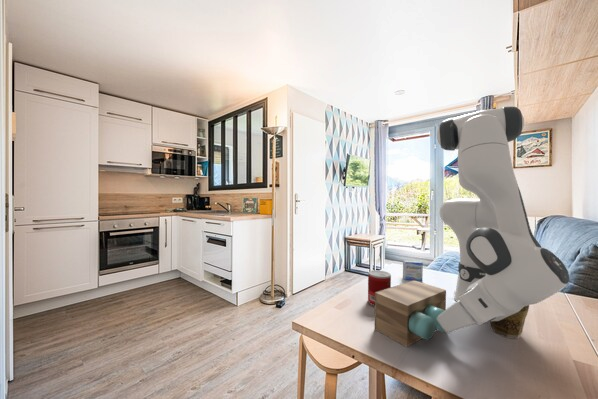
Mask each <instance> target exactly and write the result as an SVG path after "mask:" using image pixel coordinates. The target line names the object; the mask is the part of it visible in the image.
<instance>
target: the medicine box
mask: <svg viewBox="0 0 598 399" xmlns="http://www.w3.org/2000/svg"><path fill="white" fill-rule="evenodd" d="M423 264H424V263H423V262H422V261H421V260H412V259H411V260H406V259H403V260H402V278H403V279H404V280H405V281H413V280H415V281H418V282H422V281H423V274H424V273H423V271H424V270H423V269H424V268H423Z"/></svg>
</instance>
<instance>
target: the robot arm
mask: <svg viewBox="0 0 598 399" xmlns="http://www.w3.org/2000/svg"><path fill="white" fill-rule="evenodd" d="M438 126H439V127H438V129H437V132H436V140H437V143H438V145H439V146H440V148H442V149H443V150H444V151H455V150H458V151H457V170H458V173H457V174H458V183H459V185H460V186H461V187H462V189H463V190H465V191H468V192H471V193H473V194H475V195H476V197H477V198H453V199H449V200H448V199H447V200H445V201H444V202H443V203H442V204H441V206H440V207H439V216H440V219H441V220H442V223H444V224H445V225H447V226H448V227H449V228H450V229H451V230H452V231H453V233H454V234H455V236H456V238H457V240H458V243H459V244H458V245H459V262H458V266H457V268H458V269H457V271H458V275H457V280H456V286H455V287H456V288H455V290H454V293H453V294H454V297H453V299H454V300H455V302H454V303H452V304H451V305H450V306H448V308H446V310H445V311H444V312H442V313H441V314H440V315H439V316H438V317H437V321H438V323H439V324H440V326H441V327H442V328H443V330H444V331H443V332H444V333H452V332H456V331H458V330H461V329H464V328H468V327H470V326H473V325H475V324H478V325H479V326H481V325H484V324H485V323H486V324H487V323H488V322H489V323H490V321H500V320H502V319H504V318H506V317H508V316H510V315H512V314H515V313H517V312H519V311H520V310H521V309H522V308H523V307H524V306H527V305H529V306H530V305H537V304H539V303H541V302H543V301H544V300H546V299H548V298H550V297H552V296H554V295H555V294H557V293H559V292H561V290H563V289H564V288H566V287H567V285H568V284H569V282H570V274H569V270H568V269H567V267H566V265H565V264H564V263H563V261H562V260H561V259H560V258H559V257H558V256H556V254H554V253H553V251H551V250H549V249H547V248H546V247H545V248H544V247H543V246H541V244H540V243H539V242H538V240H537V239H536V237H535V236H534V235H533V232H532V230H531V226H530V223H529V219H528V216H527V215H528V214H527V210H526V206H525V204H524V200H523V199H524V198H523V196H522V193H521V190H520V187H519V184H518V181H517V178H516V175H515V172H514V167H513V162H512V159H511V153H510V152H511V151H510V146H509V143H511V142H513V141H515V140H516V139H517V138H519V137H520V136H521V134H522V132H523V131H524V130H523V129H524V127H525V118H524V116H523V114H522V111H521V109H519V108H518V107H517V106H502V107H499V108H490V109H482V110H478V111H476V112H471V113H470V112H469V113H467V114H463V115H460V116H456V117H450V118H447V119H445V120H442V121H441V123H440V124H439V125H438Z"/></svg>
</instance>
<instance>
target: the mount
mask: <svg viewBox="0 0 598 399" xmlns="http://www.w3.org/2000/svg"><path fill="white" fill-rule="evenodd" d="M446 301H447V289H443V288H440V287H437V286H435V285H431V284H427V283H424V282H422V281H415V280H413V281H412V280H409V281H407V282H404V283H401V284H398V285H395V286H391V288H388V289H384V290H381V291H378V292H375V306H374V330H375V331H378V332H379V333H382V334H383V335H385V336H386V337H388V338H390V339H391V340H394V341H395V342H397V343H399V344H401V345H403V346H404V347H406V348H407V347H409V346H411V345H412V344H415V343H416V342H419V341H420V340H421V339H424V340H427V341H428V340H431V338H432V337H433V336H434V333H435V332H437V330H436V329H435V320H434V319H433V318H432V317H430V316H427V315H425V314H424V309H425V308H426V307H427V306H429V305H432V306H435V307H437V308H440V309H443V310H446V309H447V308H446V303H447V302H446Z"/></svg>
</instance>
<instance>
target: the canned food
mask: <svg viewBox="0 0 598 399" xmlns="http://www.w3.org/2000/svg"><path fill="white" fill-rule="evenodd" d="M367 279H368V280H367V300H368V303H369V304H370V305H372V306H374V305H375V292H378V291H381V290H384V289H388V288H391V287H392V285H391V284H392V282H391V280H392V276H391V273H389V272H387V271H384V270H370V271H368V275H367Z"/></svg>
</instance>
